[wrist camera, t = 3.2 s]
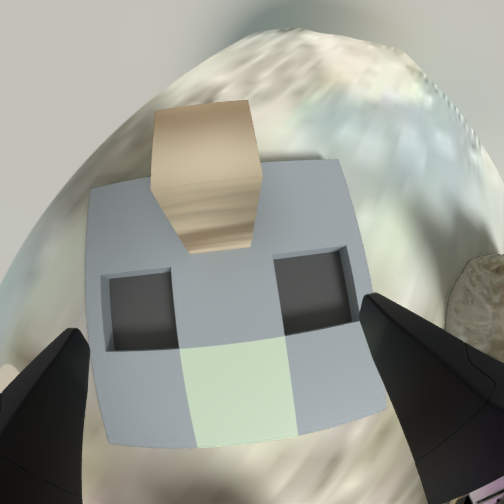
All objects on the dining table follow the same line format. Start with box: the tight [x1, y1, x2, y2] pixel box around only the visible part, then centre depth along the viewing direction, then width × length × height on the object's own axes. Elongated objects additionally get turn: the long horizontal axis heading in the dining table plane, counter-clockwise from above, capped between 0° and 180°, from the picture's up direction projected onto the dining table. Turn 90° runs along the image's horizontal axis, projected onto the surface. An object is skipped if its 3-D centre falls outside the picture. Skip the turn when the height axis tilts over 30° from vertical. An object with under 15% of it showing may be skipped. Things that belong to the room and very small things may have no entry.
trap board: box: [85, 159, 386, 448], centre depth 20 cm, size 22×22×2 cm
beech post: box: [150, 100, 263, 254], centre depth 16 cm, size 4×4×10 cm
